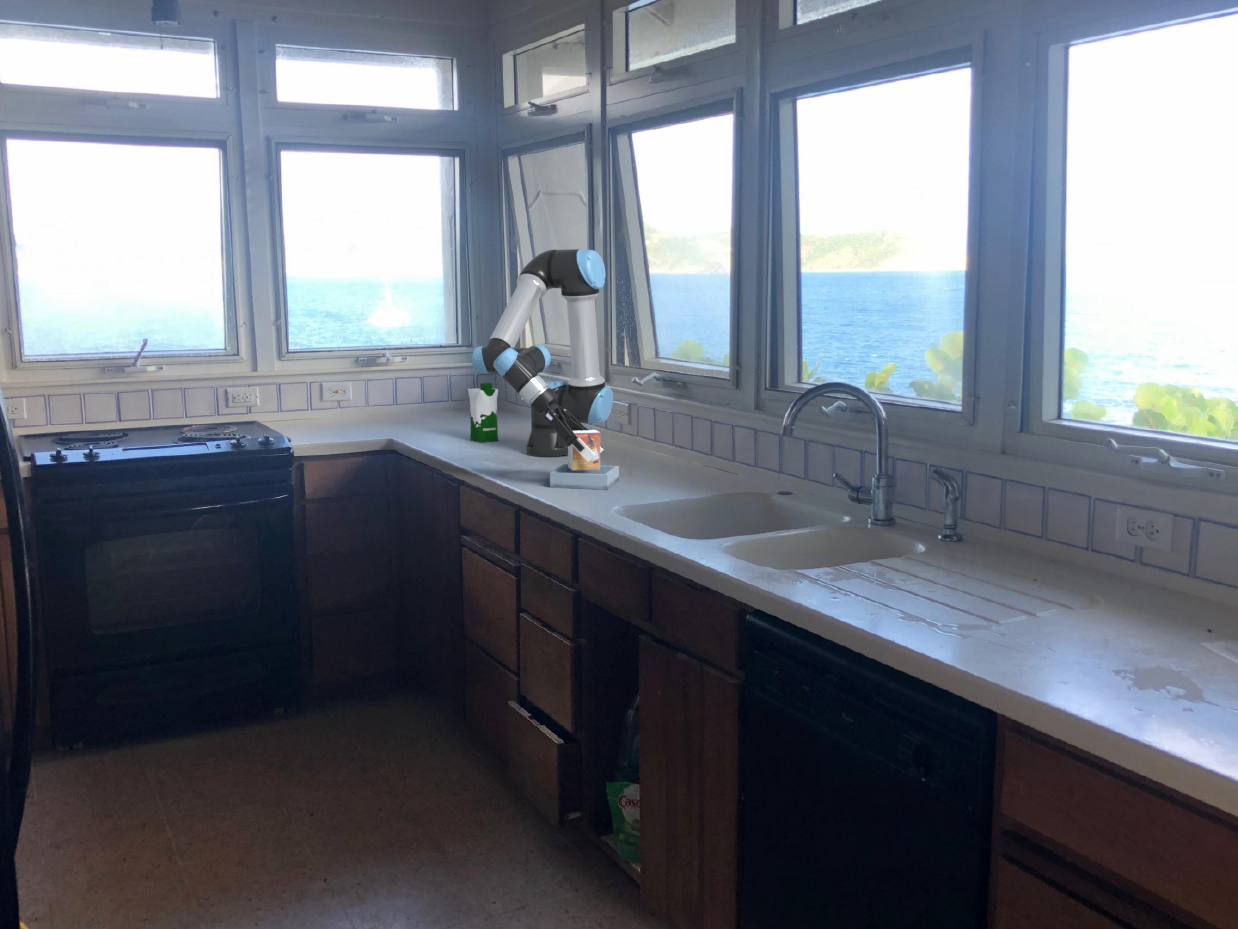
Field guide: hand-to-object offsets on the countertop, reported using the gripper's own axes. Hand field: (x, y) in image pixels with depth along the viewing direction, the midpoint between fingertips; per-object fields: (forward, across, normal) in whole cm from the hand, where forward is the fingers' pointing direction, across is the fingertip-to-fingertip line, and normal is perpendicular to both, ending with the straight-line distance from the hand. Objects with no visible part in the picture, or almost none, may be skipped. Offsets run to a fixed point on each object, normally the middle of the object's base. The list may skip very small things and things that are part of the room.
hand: (595, 455), depth 296 cm
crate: (+3, 0, -8) cm, 9 cm away
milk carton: (-35, -68, -46) cm, 89 cm away
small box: (0, 0, -5) cm, 5 cm away
